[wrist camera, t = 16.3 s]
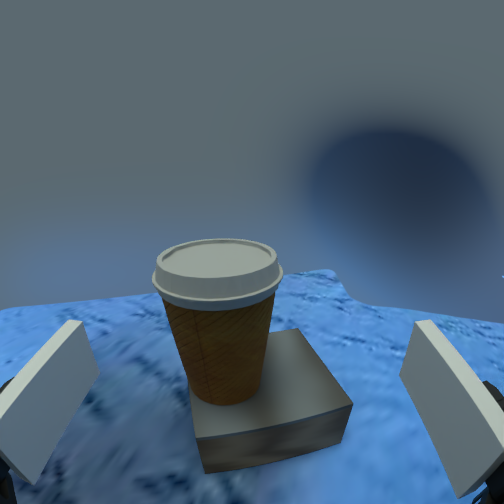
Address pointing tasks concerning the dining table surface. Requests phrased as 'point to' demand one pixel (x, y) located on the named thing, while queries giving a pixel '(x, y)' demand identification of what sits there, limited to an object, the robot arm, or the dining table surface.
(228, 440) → the block
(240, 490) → the dining table surface
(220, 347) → the disposable coffee cup
